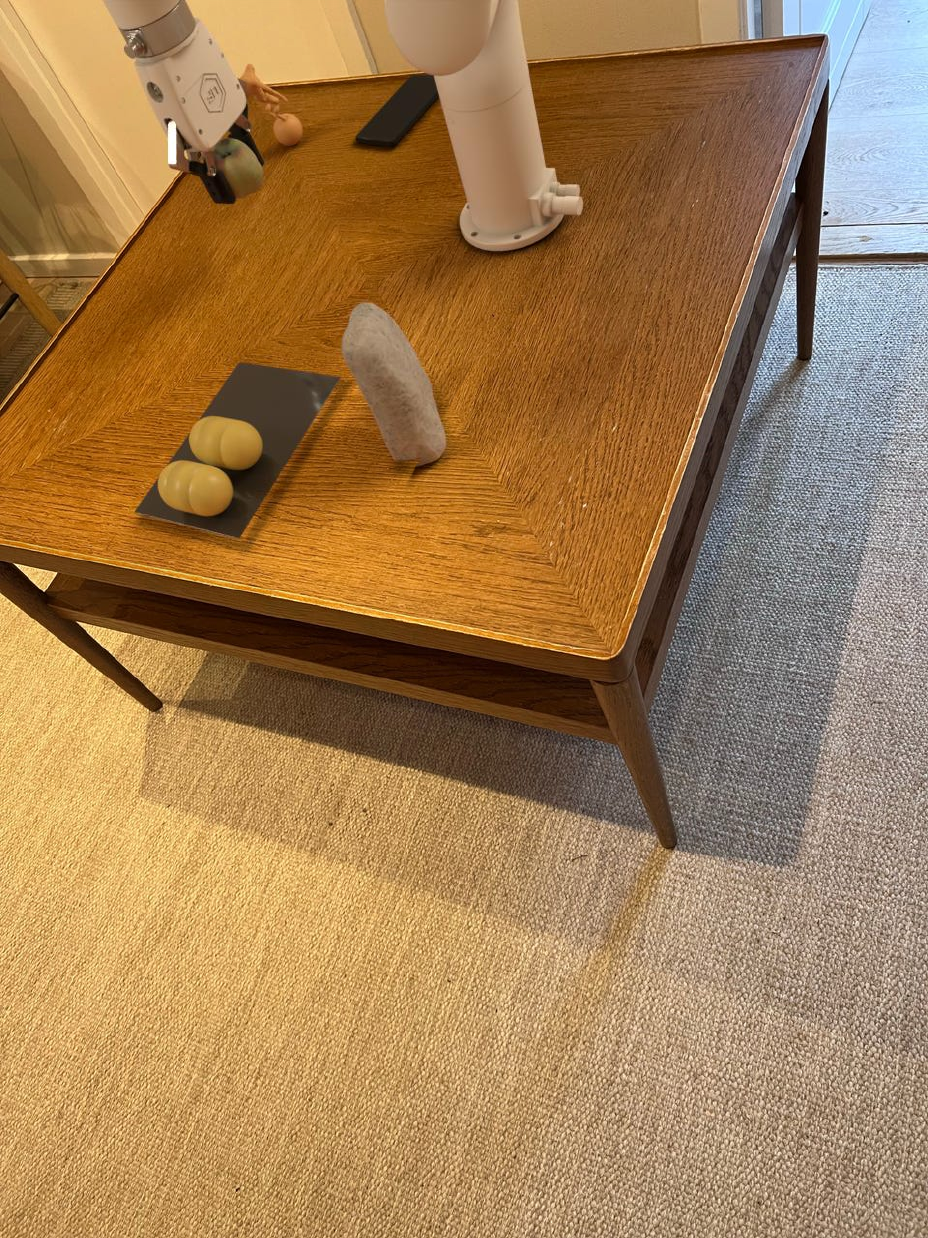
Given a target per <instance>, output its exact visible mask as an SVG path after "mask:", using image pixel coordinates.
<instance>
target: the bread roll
mask: <svg viewBox="0 0 928 1238" xmlns="http://www.w3.org/2000/svg"><path fill="white" fill-rule="evenodd" d="M158 477H159V479H158V478H157V479H158V490H159V493H160V496H161V498H162V499H163V500H164V502H165V503H166V504H168V505H169V506H170V507H172V508H174V509H177V510H181V511H185V512H189V513H193V514H197V515H201V516H214V515H217V514H220V513H221V512H223V511H224V510H225V509H226V508H227V507H228V506H229V504H230V503H231V500H232V496H233V487H232V483H231V481H230V479H229V477H228V476H227V475H226V474H225V473H224V472H223V471H222V470H220V469H219V468H216V467H213V466H210V465H205V464H200V463H196V462H191V461H183V460H180V461H175V462H173V463H171V464H169V465H167V464H166V466H165V467H164V468H163V469H162V470H161V472H160V473H159V475H158Z"/></svg>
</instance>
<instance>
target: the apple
mask: <svg viewBox="0 0 928 1238" xmlns="http://www.w3.org/2000/svg"><path fill="white" fill-rule="evenodd" d="M211 151H212V155H213V159H214V163H215V167H216V170H220V171H222V173H223V175H224V176H225V178H226V180H227V182H228V184H229V186H230V188H231V190H232V191H233V193H234V195H235V197H236V200H237V199H238V200H239V199H241V200H242V199H245V198H247V197H248V196H250V195H253V194H255V193H257V192H258V191H260V189H261V187H262V185H263V179H264V170H263V166H261V164H260V163H259V161H258V159H257V157H256V155H255V154H254V153H253V151H252V150H251V149H250V148H249V147H248V146H247V145H246V144H244V143H243V142H241V141H239V140H237V139H233V138H228V137H226V138H222V139H221V140H220V141H219V142H218V144H217V145H216V146H215V147H214V148H213V149H212V150H211Z"/></svg>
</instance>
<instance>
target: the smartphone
mask: <svg viewBox="0 0 928 1238" xmlns="http://www.w3.org/2000/svg"><path fill="white" fill-rule="evenodd" d="M438 98H439V94H438V90H437V86H436V82H435V78H434V75H429V74H426V75H425V74H412V75H410V76H409V77H408V78H407V79H406V80H405V81H404V82H403V84H402V85H401V86H400V87H399V88H398V89H397V90H396V91H395V93H393V94H392V96H391V97H390V98H389V99H388V100H387V101H386V102H385V103H384V104H383V105H382V106H381V107H380V108H379V110H378V111H377V112H376V113H375V114H374V115H373V117H371V118H370V120H369V121H368V122H367V123H366V124H365V125H364V126H363V127H362V128H361V130H360V131H359V132H358V133H357V134H356V135H355V141H356V143H358V144H364V145H374V146H382V147H390V148H391V147H395V146H397V144H398V143H399V142H400V141H401V140H402V139H403V138H404V136H405V135H406V134H407V133H408V132H409V131H410V130H411V129H412V127H413V126H414V125H416V123H417V122H418V120H420V119H421V117H422V116H423V115H424V114H425V113H426V111H428V109H429V108H430V107H431V106H432V105H433V104H434V102H435V101H437V99H438Z"/></svg>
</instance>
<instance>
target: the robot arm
mask: <svg viewBox="0 0 928 1238" xmlns="http://www.w3.org/2000/svg"><path fill="white" fill-rule="evenodd" d="M102 2H103V3H104V5H105V7H106V9H107V11H108V13H109V15H110V16H111V18H112V20H113V21H114V24H115V25H116V27H117V29H118V30H119V33H120V34H121V36H122V37H123V40H124V41H125V43H126V44H125V45H124V46H123V52H124V53H125V55H126V56H127V57H128V58H130V59H131V60H133V59H135V61H134V67H135V71H136V73H137V76H138V79H139V81H140V83H141V86H142V88H143V89H142V90H143V91H144V93H145V95H146V98H147V101H148V102H149V105H150V107H151V109H152V111H153V113H154V115H155V117H156V119H157V121H158V123H159V125H160V127H161V128H162V131H163V133H164V134H165V136H166V137H167V159H168V161H167V163H168V167H169V168H170V169H171V170H174V171H179V172H183V173H185V174H188V175H192V176H194V177H199V178H200V180H201V182H202V184H203V186H204V187H205V189H206V191H207V193H208V195H209V196H210V198H211V200H212V201H213V203H214V204H217V205H234V204H235V203H236V201H237V199H236V197H235V195H234V193H233V191H232V190H231V188H230V186H229V184H228V182H227V180H226V178H225V176H224V175H223V173H222V171H220V170H216V167H215V163H214V159H213V155H212V151H211V150H212V149H213V148H214V147H215V146H216V145H217V144H218V143H219V142H220V141H221V140H223V139H224V137H225V135H226V134H227V133H228V135H227V137H226V138H233V139H237V140H239V141H241V142H243V143H244V144H246V145H247V146H248V147H249V148H250V149H251V150H252V151H253V153H254V154H255V155H256V157H257V159H258V161H259V163H260V164H261V166H262V167H263V166H264V165H265V161H264V158H263V157H262V155H261V153H260V150H259V149H258V146H257V144H256V142H255V139H253V136H252V134H251V133H250V132H251V131H252V123H251V122H250V121H249V104H248V102H247V101H248V94H247V93H248V92H247V84H246V82H245V81H243V80H241V79H240V77H237V75H236V73H235V72H234V70H233V68H232V66H231V64H230V62H229V60H228V59H227V57H226V55H225V54H224V52H223V50H222V48H221V46H220V45H219V43H218V42H217V40H216V39H215V37H214V36H213V34H212V33H211V32H210V30H209V29H208V28H207V26H206V25H205V24H204V23H203V21H202V20H201V19H200V18H199V17H194V15H193V13H192V11H191V9H190V6H189V4H188V3H187V0H102ZM383 3H384V4H383V5H384V13H385V21H386V24H387V29H388V31H389V35H390V38H391V39H392V41H393V43H394V45H395V47H396V48H397V50H398V52H399V53H400V55H401V56H402V57H403V58H404V59H405V61H406V62H408V63H409V65H411V66H412V67H414V68H415V69H416V70H418V71H420V72H422V73H424V74H426V75H429V76H434V78H435V82H436V86H437V90H438V94H439V97H438V98H439V102H440V105H441V109H442V113H443V117H444V121H445V123H446V127H447V131H448V135H449V137H450V143H451V145H452V146H451V147H452V149H453V153H454V157H455V161H456V165H457V168H458V172H459V176H460V180H461V183H462V187H463V191H464V194H465V198H466V201H467V203H465V205H464V207H463V209H462V210H461V211H460V212H461V213H460V216H459V226H460V230H461V234H462V236H463V238H464V239H465V241H467V242H468V244H470V245H471V246H473V247H475V248H478V249H481V250H483V251H488V252H489V251H490V252H508V251H513V250H517V249H522V248H524V247H527V246H531V245H533V244H534V243H536V242H538V241H540V240H542V239H544V238H545V237H546V236H548V235H549V234H550V233H551V232H553V231H554V230H555V229H557V227H558V226H559V224H560V223H561V222H562V220H563V218H564V216H581V214H582V212H583V207H584V202H583V197H582V196H580V193H581V188H580V185H579V184H571V183H568V184H562V183H561V182H560V181H558V179H557V173H556V168H555V167H547V165H546V160H545V154H544V149H543V144H542V137H541V131H540V128H539V127H540V126H539V122H538V117H537V111H536V110H537V109H536V105H535V99H534V95H533V94H534V93H533V89H532V83H531V78H530V70H529V64H528V60H527V55H526V48H525V42H524V37H523V31H522V23H521V22H522V21H521V16H520V7H519V0H383ZM185 152H186V155H185ZM198 153H200V154H201V155H200V156H201V159H202V162H200V161H201V160H200V157H199V154H198ZM186 156H187V157H186Z"/></svg>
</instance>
